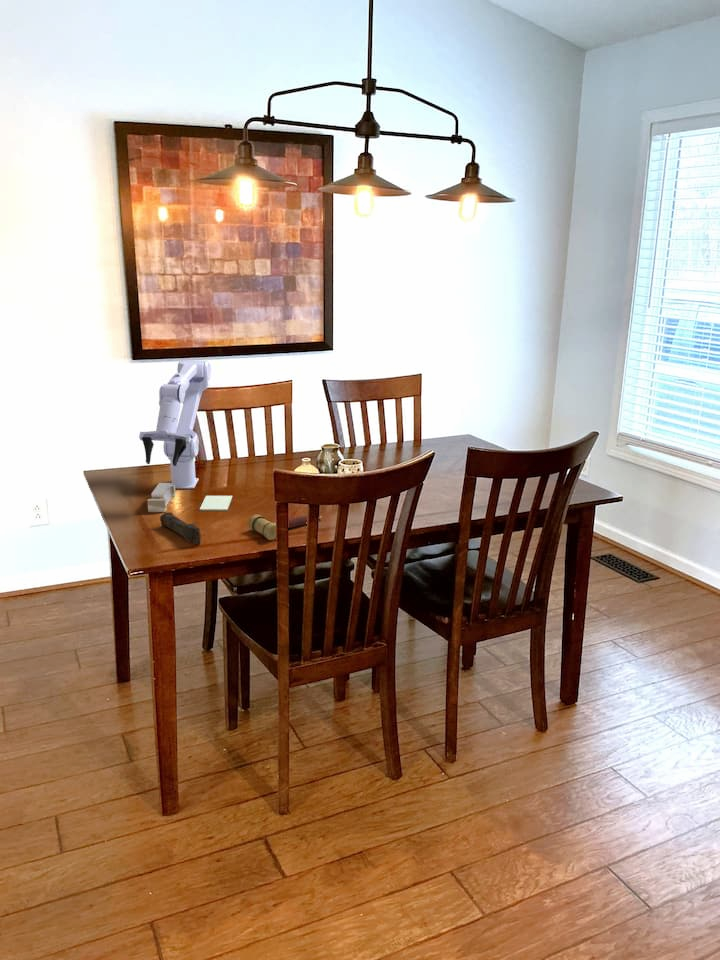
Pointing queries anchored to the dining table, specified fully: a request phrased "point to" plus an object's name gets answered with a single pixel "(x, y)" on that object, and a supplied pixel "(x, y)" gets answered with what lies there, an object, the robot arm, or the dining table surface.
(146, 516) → the dining table surface
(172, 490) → the blocks
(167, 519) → the hand tool
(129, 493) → the dining table surface
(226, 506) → the mat
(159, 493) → the steel bar
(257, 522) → the gavel
